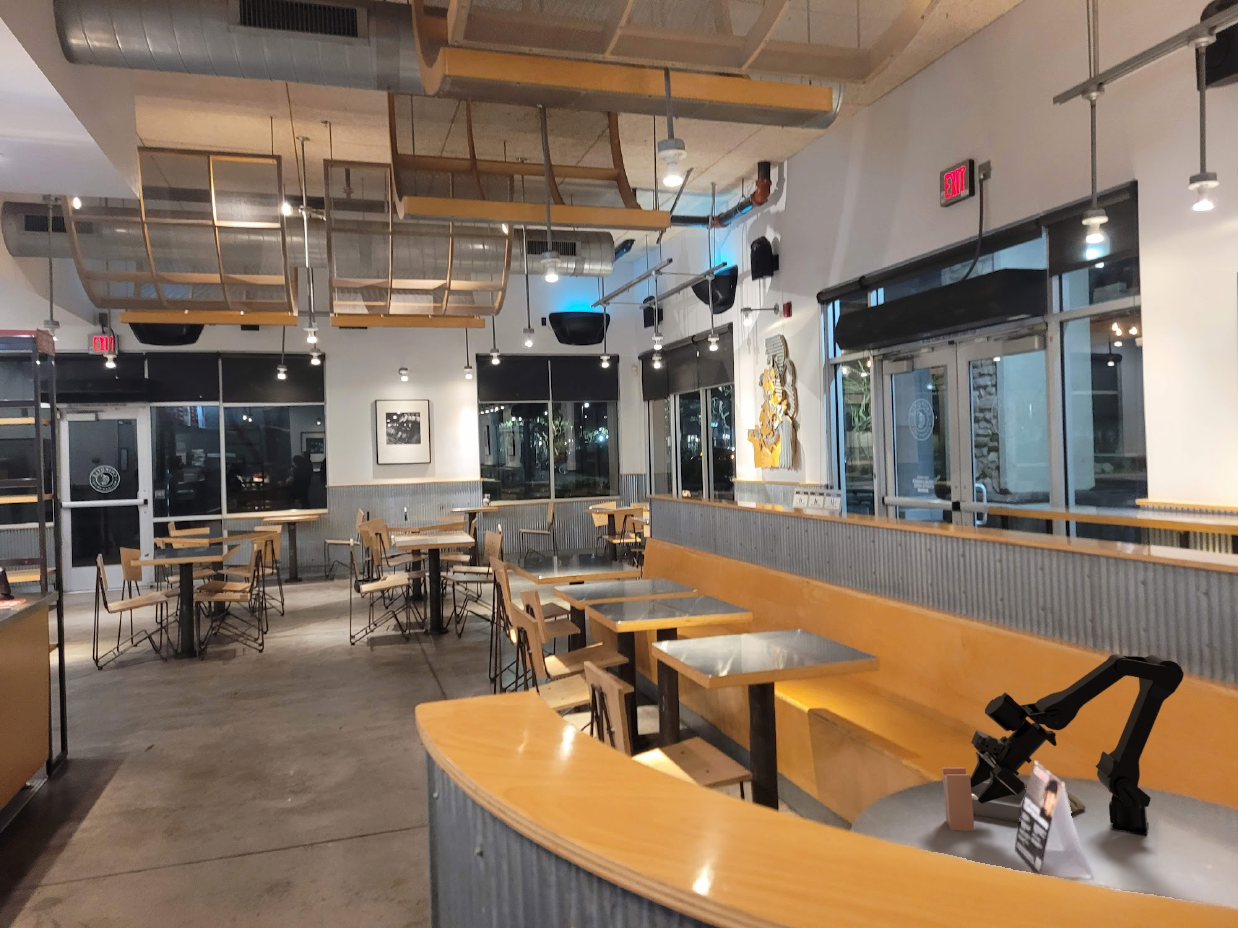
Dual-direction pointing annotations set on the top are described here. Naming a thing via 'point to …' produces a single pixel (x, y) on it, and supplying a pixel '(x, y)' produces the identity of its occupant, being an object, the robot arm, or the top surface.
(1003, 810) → the tray
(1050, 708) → the robot arm
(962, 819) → the brown rectangular block
